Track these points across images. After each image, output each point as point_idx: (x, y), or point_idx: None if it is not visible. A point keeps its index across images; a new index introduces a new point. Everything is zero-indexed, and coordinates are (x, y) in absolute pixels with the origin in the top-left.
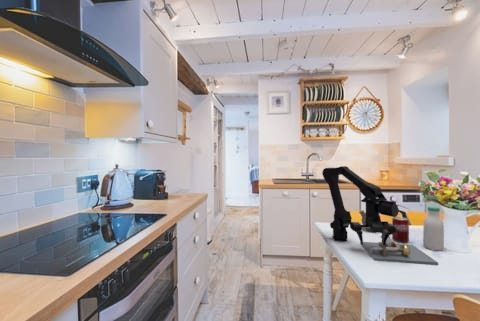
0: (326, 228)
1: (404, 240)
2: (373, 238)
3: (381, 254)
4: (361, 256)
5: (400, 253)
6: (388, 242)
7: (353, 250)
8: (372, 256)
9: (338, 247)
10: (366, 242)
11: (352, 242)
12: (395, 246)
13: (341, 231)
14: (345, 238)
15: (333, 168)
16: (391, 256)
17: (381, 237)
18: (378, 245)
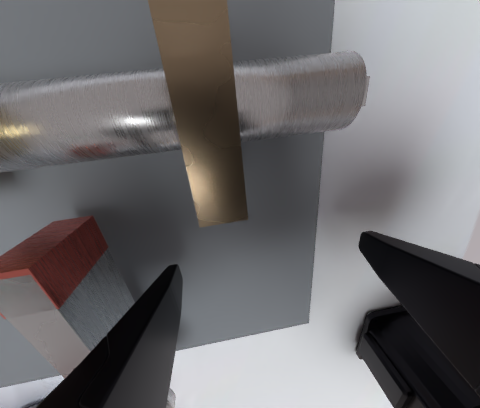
0: (383, 405)
1: None
2: (207, 392)
3: None
4: (404, 51)
5: (21, 194)
6: (109, 327)
7: (400, 183)
8: (329, 17)
9: (472, 207)
10: (273, 324)
11: (340, 311)
12: (19, 247)
13: (462, 379)
14: (378, 333)
15: None
16: (115, 59)
17: (169, 397)
18: (204, 305)
